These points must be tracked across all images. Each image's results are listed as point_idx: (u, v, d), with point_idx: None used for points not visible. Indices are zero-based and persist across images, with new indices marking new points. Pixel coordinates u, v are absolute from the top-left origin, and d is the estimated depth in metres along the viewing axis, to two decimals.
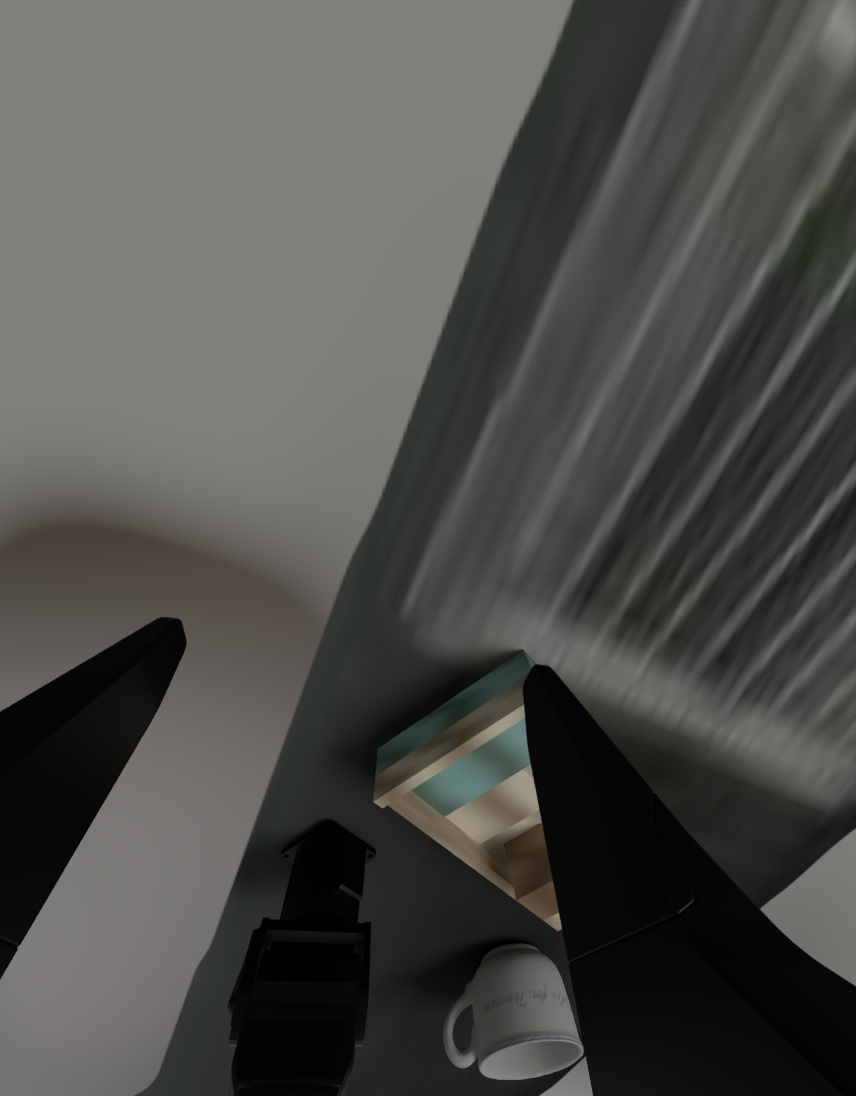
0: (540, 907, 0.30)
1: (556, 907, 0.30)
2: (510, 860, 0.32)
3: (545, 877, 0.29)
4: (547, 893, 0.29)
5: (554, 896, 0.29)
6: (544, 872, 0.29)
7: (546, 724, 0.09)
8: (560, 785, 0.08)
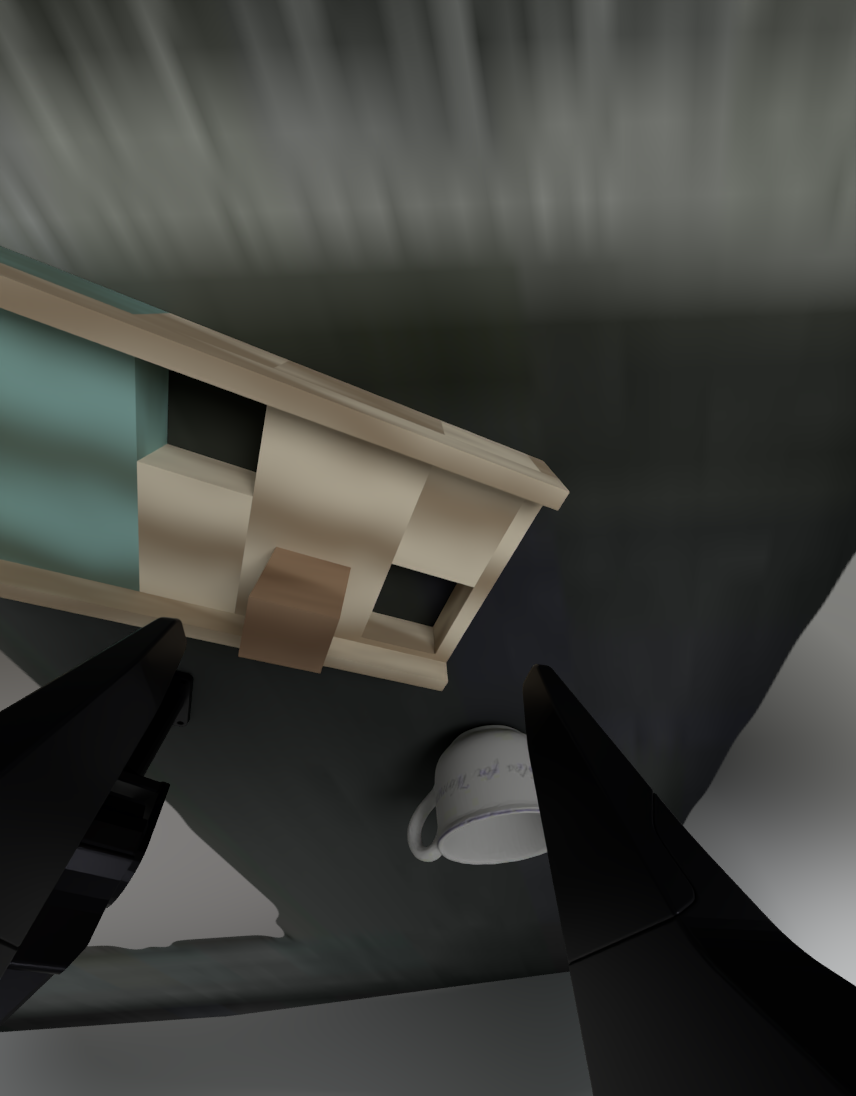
0: (288, 655, 0.18)
1: (312, 647, 0.18)
2: None
3: None
4: (267, 630, 0.17)
5: (285, 631, 0.17)
6: None
7: (546, 724, 0.09)
8: (560, 785, 0.08)
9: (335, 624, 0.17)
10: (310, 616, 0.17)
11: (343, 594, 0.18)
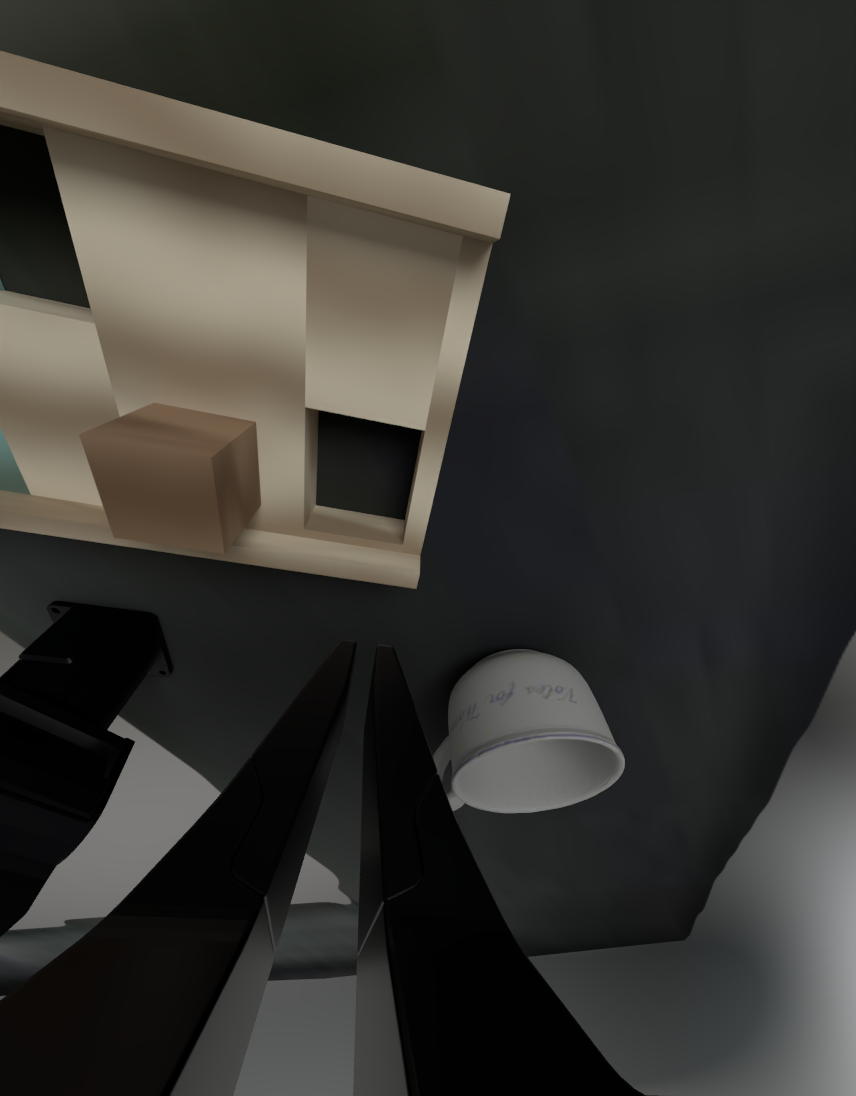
0: (173, 529, 0.14)
1: (197, 512, 0.14)
2: None
3: None
4: (129, 490, 0.13)
5: (151, 488, 0.13)
6: None
7: (369, 705, 0.08)
8: (367, 768, 0.08)
9: (209, 468, 0.13)
10: (171, 459, 0.12)
11: (230, 440, 0.14)
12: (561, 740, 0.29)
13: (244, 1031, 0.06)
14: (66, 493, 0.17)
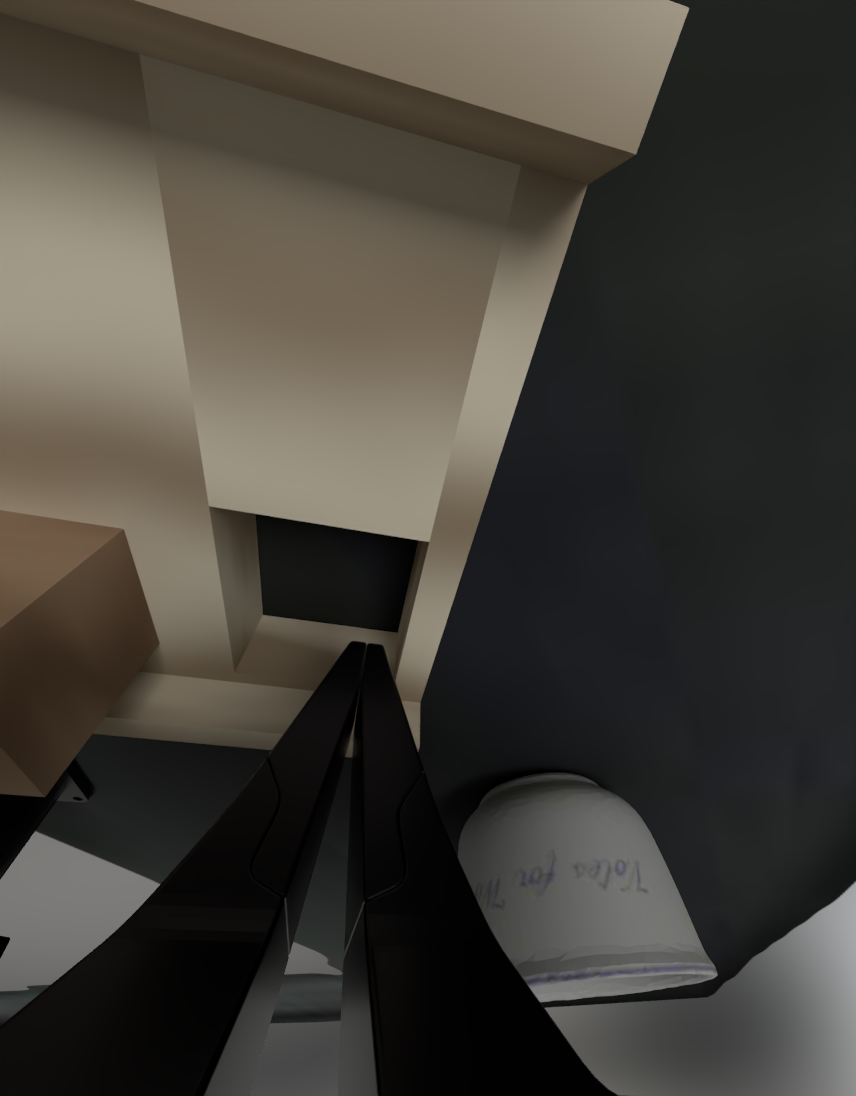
0: None
1: None
2: None
3: None
4: None
5: None
6: None
7: (358, 704, 0.08)
8: (355, 767, 0.08)
9: None
10: None
11: (35, 595, 0.07)
12: None
13: (261, 1031, 0.06)
14: None
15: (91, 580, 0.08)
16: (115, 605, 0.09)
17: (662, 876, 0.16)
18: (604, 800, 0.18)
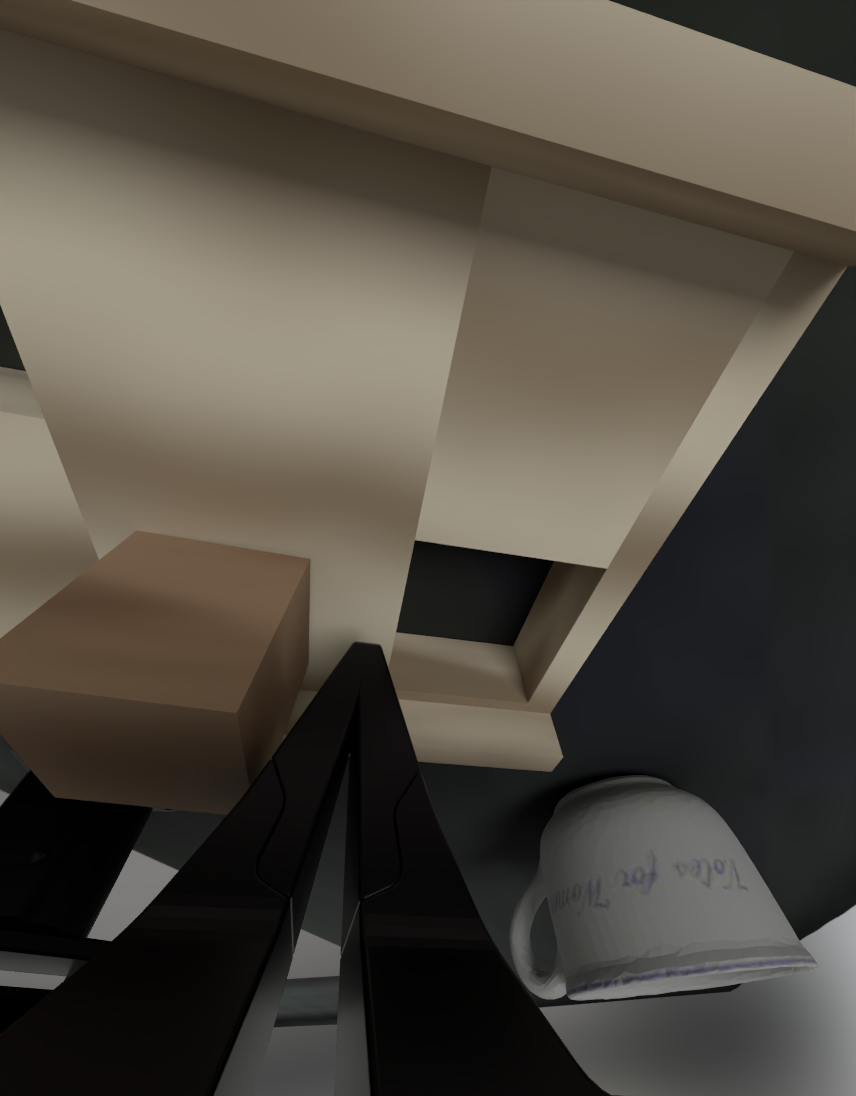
0: (163, 791, 0.07)
1: (206, 775, 0.07)
2: None
3: None
4: (73, 748, 0.06)
5: (116, 747, 0.06)
6: None
7: None
8: (352, 766, 0.08)
9: (232, 726, 0.06)
10: (152, 713, 0.06)
11: (272, 629, 0.07)
12: None
13: (266, 1032, 0.06)
14: None
15: (293, 610, 0.08)
16: (298, 631, 0.09)
17: (755, 874, 0.17)
18: (690, 801, 0.19)
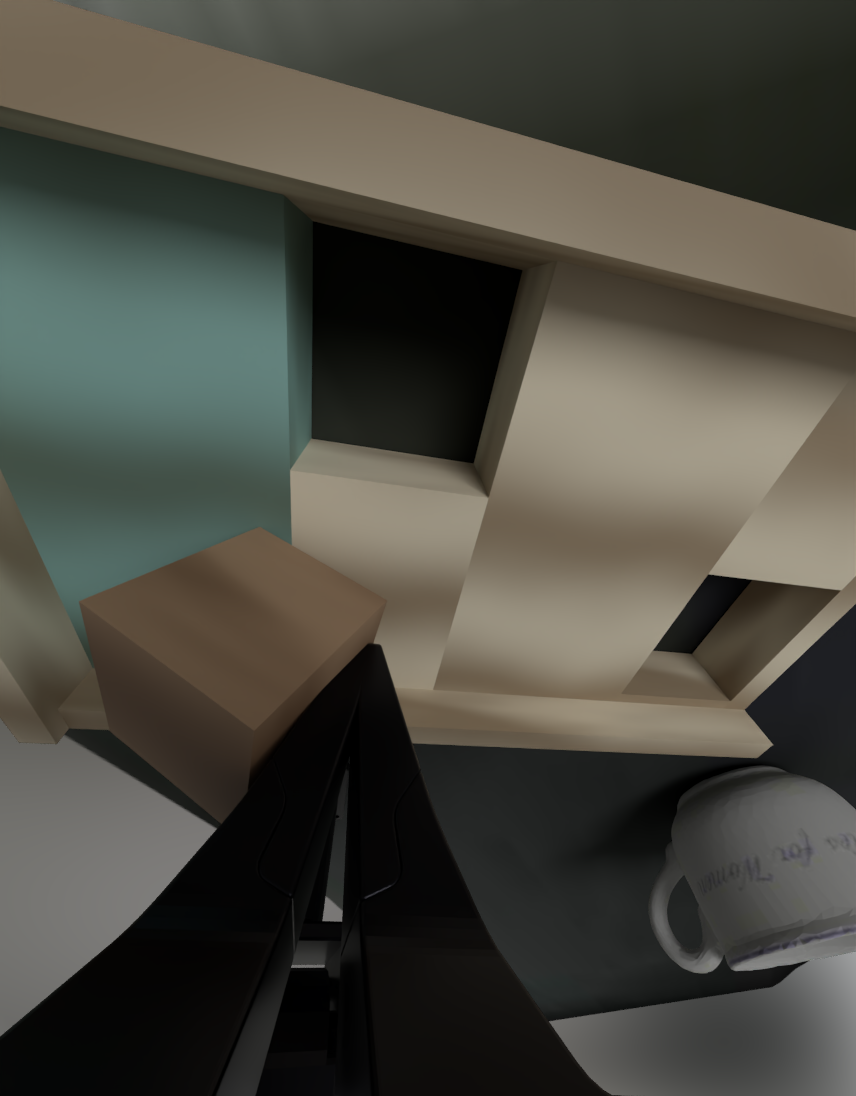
0: (180, 771, 0.08)
1: (215, 776, 0.07)
2: None
3: None
4: (131, 696, 0.07)
5: (159, 712, 0.07)
6: None
7: None
8: (352, 767, 0.08)
9: (247, 741, 0.06)
10: (192, 696, 0.06)
11: (323, 658, 0.07)
12: None
13: (268, 1031, 0.06)
14: None
15: (353, 645, 0.08)
16: None
17: None
18: (818, 785, 0.21)
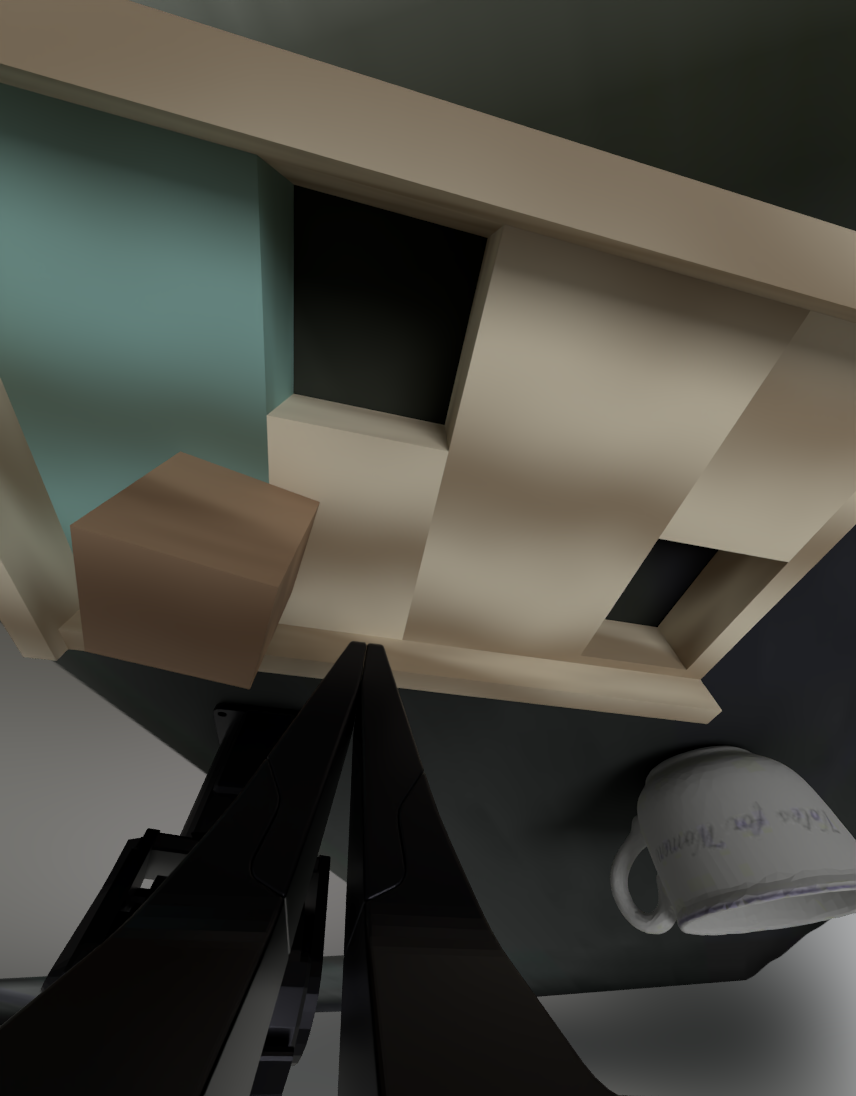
0: (184, 654, 0.09)
1: (228, 642, 0.09)
2: None
3: None
4: (131, 603, 0.08)
5: (168, 606, 0.08)
6: None
7: (358, 704, 0.08)
8: (355, 767, 0.08)
9: (270, 598, 0.08)
10: (215, 579, 0.08)
11: (296, 543, 0.10)
12: None
13: (261, 1031, 0.06)
14: (318, 622, 0.14)
15: (305, 537, 0.11)
16: (300, 557, 0.12)
17: (841, 823, 0.21)
18: (779, 765, 0.22)
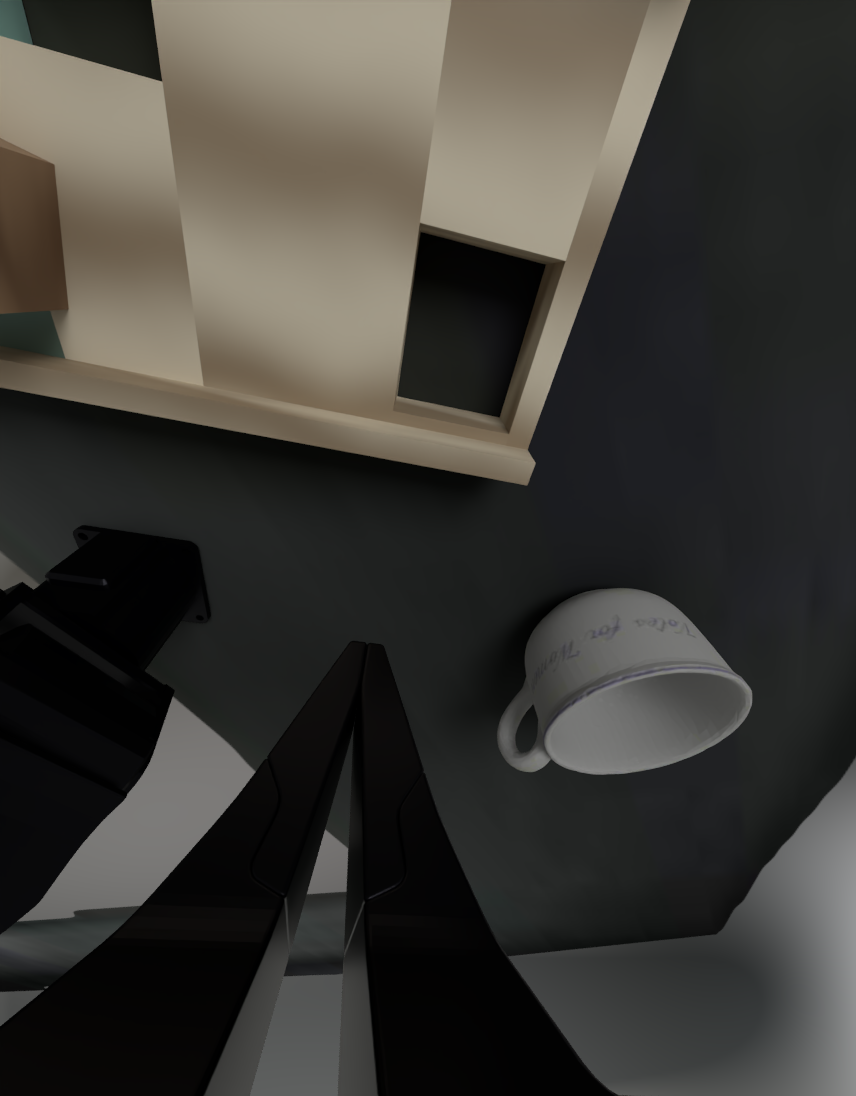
0: None
1: None
2: None
3: None
4: None
5: None
6: None
7: (358, 704, 0.08)
8: (355, 767, 0.08)
9: None
10: None
11: None
12: (649, 695, 0.25)
13: (261, 1031, 0.06)
14: (109, 356, 0.14)
15: (20, 176, 0.10)
16: (36, 223, 0.11)
17: (705, 638, 0.20)
18: (653, 594, 0.22)
